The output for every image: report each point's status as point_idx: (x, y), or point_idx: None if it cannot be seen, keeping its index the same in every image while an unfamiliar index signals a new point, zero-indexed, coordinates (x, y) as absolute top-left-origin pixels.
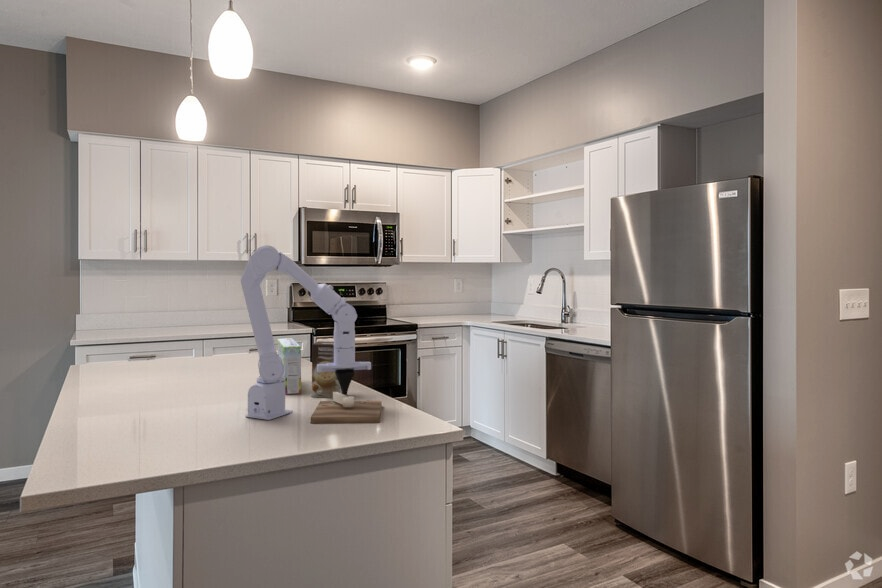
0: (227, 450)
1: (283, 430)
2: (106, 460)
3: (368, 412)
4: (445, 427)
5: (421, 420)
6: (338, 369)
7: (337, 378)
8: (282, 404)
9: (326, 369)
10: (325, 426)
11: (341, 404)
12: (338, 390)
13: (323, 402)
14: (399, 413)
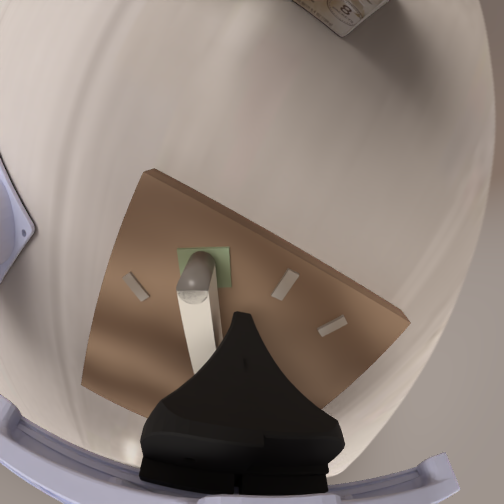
0: (4, 391)
1: (41, 375)
2: None
3: None
4: (338, 468)
5: (347, 444)
6: (166, 493)
7: (190, 380)
8: None
9: (57, 458)
10: (122, 408)
11: (221, 307)
12: (349, 16)
13: (148, 215)
14: (363, 400)
